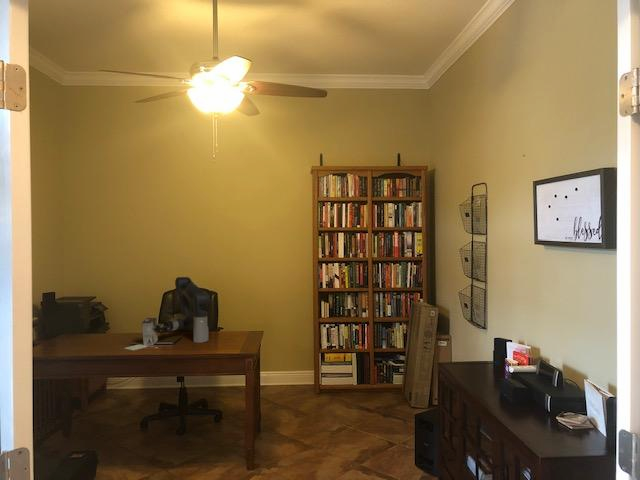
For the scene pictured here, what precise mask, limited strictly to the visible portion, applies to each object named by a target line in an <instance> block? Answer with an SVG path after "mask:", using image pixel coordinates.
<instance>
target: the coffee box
mask: <svg viewBox="0 0 640 480" xmlns="http://www.w3.org/2000/svg"><path fill="white" fill-rule="evenodd" d="M157 324H158V321H157V317H147V318H146V319H144V320H143V321H142V322H141V327H142V330H141V331H142V339H143V345H147V346H154V345H155V344H156V343H157V342H158V340H159V339H158V331H156V332H155V328H157Z"/></svg>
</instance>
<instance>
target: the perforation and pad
mask: <svg viewBox="0 0 640 480" xmlns="http://www.w3.org/2000/svg"><path fill="white" fill-rule="evenodd" d="M149 347H151V345H144V344H135V345H131V346H127V347H124V350H128V351H137V350H141V349H144V348H149ZM154 348H156V349H158V346H157V347H156V346H155V347H154Z"/></svg>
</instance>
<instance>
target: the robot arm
mask: <svg viewBox="0 0 640 480" xmlns="http://www.w3.org/2000/svg"><path fill="white" fill-rule="evenodd" d="M174 284H175V289H176V294H177V296H178V299H179V304H180V310H181V315H182V316H185V317H184V318H183V319H182V318H177V319H176V318H175V319H169V320H164V321H162V323H159V324H158V323H157V328H155V332H156V331H157V332H166V333H167V332H172V331H175V330H180V329H181V330H184V329H188V328H190V327H192V326H193V343H197V344H199V343H200V344H201V343H205V342H208V341H209V326H208V312H207V311H206V310H202V309H200V307H207V306H209V305H210V302H211V298H210V295H209V293H208V292H206V291H204V290H202V289H201V288H200V287H199V286H198V285H197V284H195V283H194V282H193V281H192V279H191V278H190V277H189V276H178V277H176V278H175V280H174ZM183 290H184V292H185V294H184V293H183ZM185 295H187V296H188V297H189V298H191V299H192V307H191V302H190V300H189V298H187V296H185ZM192 311H193V312H192Z"/></svg>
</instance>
